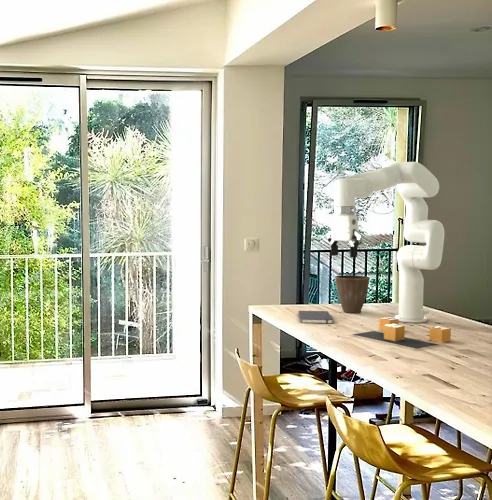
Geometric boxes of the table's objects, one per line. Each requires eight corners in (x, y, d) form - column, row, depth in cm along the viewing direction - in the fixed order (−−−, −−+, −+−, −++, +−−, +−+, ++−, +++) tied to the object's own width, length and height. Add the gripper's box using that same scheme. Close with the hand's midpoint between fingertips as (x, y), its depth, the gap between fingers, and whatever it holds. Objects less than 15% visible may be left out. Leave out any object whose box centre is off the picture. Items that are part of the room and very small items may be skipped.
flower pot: (332, 308, 303) (332, 274, 302) (365, 309, 301) (365, 275, 300) (337, 314, 288) (337, 278, 287) (372, 314, 286) (372, 278, 285)
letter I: (392, 337, 238) (393, 323, 237) (404, 339, 233) (404, 325, 233) (383, 338, 235) (383, 324, 235) (395, 341, 231) (395, 326, 231)
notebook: (298, 313, 291) (301, 322, 270) (298, 310, 290) (301, 319, 270) (327, 314, 288) (332, 323, 267) (327, 311, 288) (333, 319, 267)
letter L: (438, 339, 235) (438, 325, 235) (450, 342, 231) (450, 327, 231) (429, 341, 233) (429, 326, 232) (441, 343, 228) (442, 329, 228)
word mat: (374, 332, 249) (374, 330, 249) (439, 345, 225) (439, 344, 225) (352, 335, 243) (352, 334, 243) (416, 350, 219) (416, 348, 219)
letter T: (387, 329, 254) (387, 316, 254) (398, 331, 250) (398, 318, 249) (379, 330, 252) (379, 317, 251) (389, 333, 247) (390, 319, 247)
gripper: (369, 211, 239) (368, 257, 240) (335, 210, 254) (334, 254, 255) (354, 211, 235) (354, 258, 236) (320, 211, 250) (320, 255, 252)
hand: (343, 256), depth 246 cm, fingers open, 9 cm apart
